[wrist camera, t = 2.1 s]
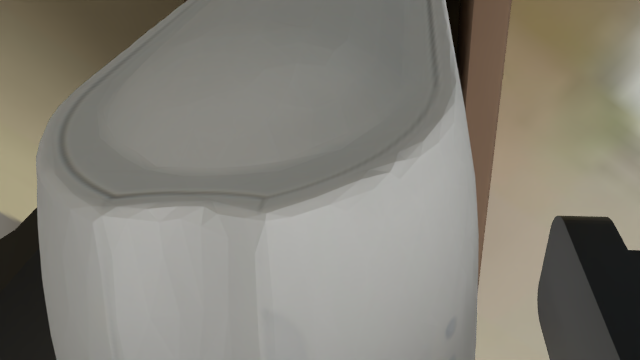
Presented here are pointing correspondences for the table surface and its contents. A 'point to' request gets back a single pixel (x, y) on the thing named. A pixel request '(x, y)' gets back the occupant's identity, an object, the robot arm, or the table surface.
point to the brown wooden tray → (482, 87)
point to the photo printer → (265, 190)
